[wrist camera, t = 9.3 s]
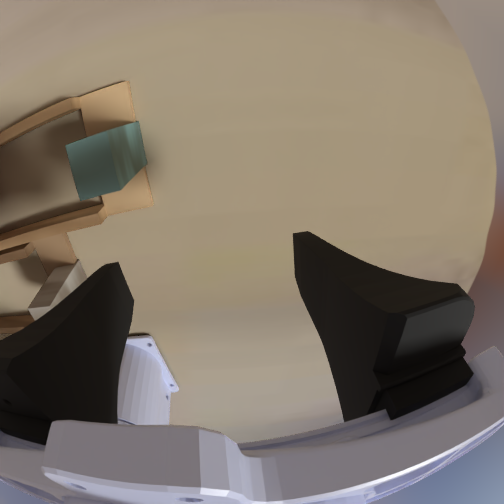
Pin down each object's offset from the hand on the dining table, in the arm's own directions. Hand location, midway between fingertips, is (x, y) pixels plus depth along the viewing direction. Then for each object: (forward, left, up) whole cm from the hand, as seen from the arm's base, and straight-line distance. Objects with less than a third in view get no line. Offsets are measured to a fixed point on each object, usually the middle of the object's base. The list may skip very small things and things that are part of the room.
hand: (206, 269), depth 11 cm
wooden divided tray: (+5, +14, -9) cm, 17 cm away
